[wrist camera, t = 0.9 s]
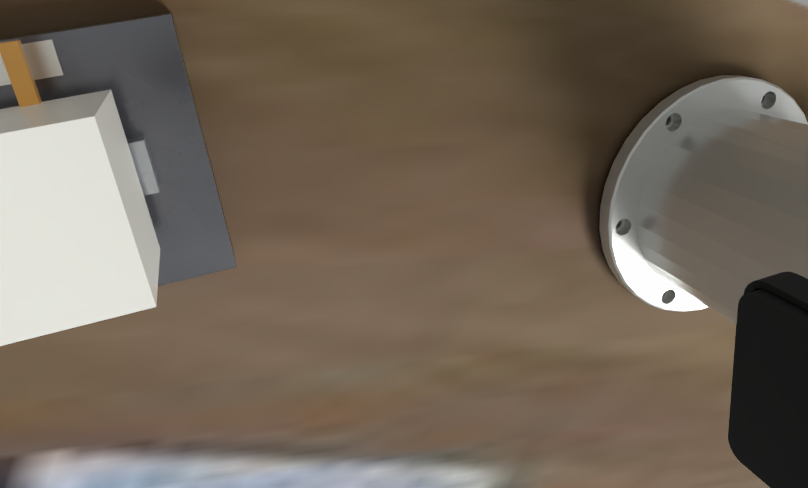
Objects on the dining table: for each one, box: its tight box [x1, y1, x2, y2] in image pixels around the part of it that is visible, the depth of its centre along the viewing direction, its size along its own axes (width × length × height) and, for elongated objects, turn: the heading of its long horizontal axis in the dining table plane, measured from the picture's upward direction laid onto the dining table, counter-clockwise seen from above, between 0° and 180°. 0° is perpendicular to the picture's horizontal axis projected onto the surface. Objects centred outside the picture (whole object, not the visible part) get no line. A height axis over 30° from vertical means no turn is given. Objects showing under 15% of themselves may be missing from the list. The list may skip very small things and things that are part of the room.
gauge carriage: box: [0, 40, 160, 346], centre depth 21 cm, size 5×8×5 cm, turn 7°
